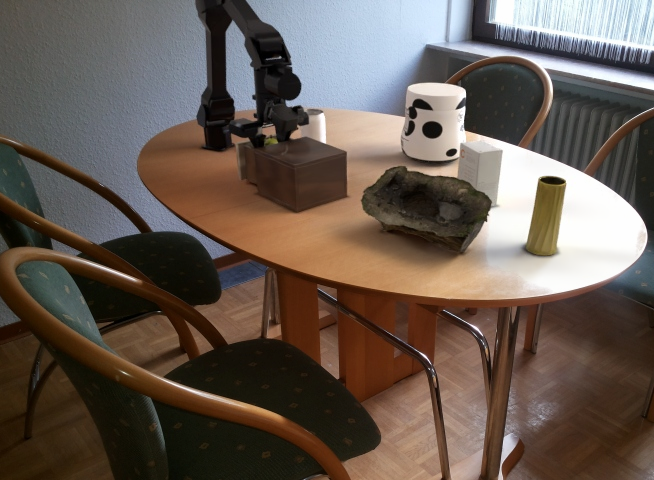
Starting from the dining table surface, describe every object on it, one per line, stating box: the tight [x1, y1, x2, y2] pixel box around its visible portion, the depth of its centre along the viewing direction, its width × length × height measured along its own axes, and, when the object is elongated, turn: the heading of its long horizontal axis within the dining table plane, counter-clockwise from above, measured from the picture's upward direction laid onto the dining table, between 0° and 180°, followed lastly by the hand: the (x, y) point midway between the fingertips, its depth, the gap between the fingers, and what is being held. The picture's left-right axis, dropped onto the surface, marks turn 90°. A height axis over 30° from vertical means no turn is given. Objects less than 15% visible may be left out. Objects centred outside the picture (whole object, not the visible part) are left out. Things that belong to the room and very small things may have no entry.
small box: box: [456, 139, 504, 207], centre depth 144 cm, size 8×6×13 cm
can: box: [299, 108, 327, 144], centre depth 168 cm, size 6×6×12 cm
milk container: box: [400, 82, 467, 164], centre depth 169 cm, size 17×17×18 cm
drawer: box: [234, 133, 294, 186], centre depth 152 cm, size 17×13×9 cm
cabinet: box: [254, 137, 348, 213], centre depth 145 cm, size 15×15×11 cm
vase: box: [525, 175, 568, 256], centre depth 124 cm, size 6×6×14 cm
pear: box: [264, 134, 278, 146], centre depth 150 cm, size 5×5×7 cm
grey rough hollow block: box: [360, 165, 492, 254], centre depth 127 cm, size 28×13×15 cm
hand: (272, 159), depth 152 cm, fingers closed on pear, 5 cm apart
